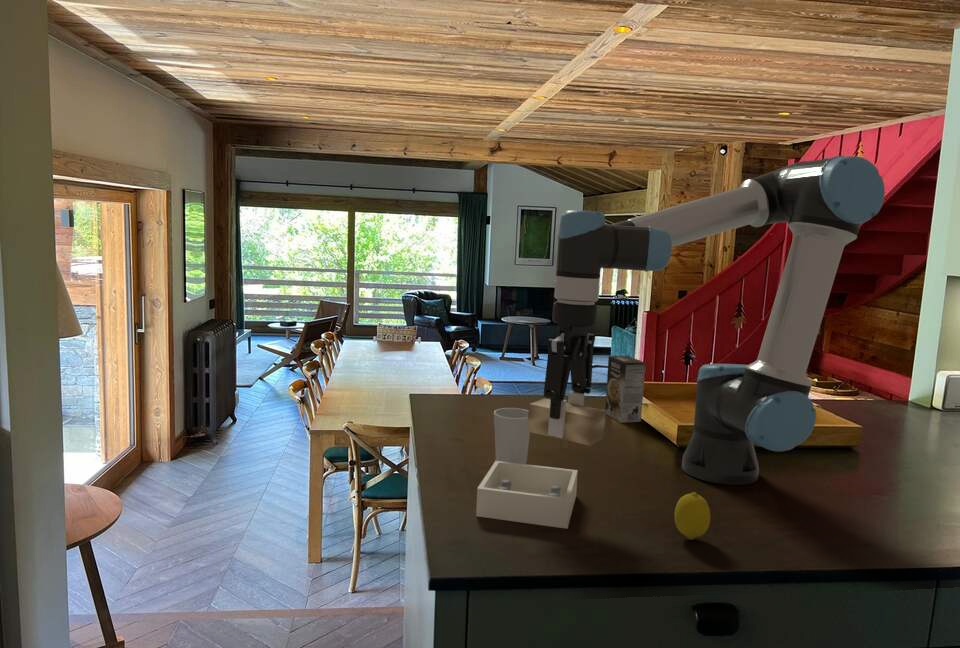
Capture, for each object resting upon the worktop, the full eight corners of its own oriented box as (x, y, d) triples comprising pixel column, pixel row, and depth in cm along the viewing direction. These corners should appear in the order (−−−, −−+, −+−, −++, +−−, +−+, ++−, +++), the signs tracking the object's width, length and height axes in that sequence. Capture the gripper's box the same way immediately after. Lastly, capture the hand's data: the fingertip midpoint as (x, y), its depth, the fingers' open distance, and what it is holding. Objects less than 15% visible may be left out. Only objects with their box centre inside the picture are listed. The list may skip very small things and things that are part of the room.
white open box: (576, 495, 126) (577, 470, 126) (567, 528, 112) (569, 500, 112) (494, 485, 130) (495, 460, 129) (476, 516, 116) (477, 488, 115)
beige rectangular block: (527, 431, 120) (529, 404, 119) (542, 424, 125) (544, 398, 124) (590, 445, 114) (592, 416, 113) (603, 438, 119) (606, 410, 118)
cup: (527, 478, 134) (530, 420, 133) (488, 474, 136) (490, 416, 134) (532, 465, 142) (535, 409, 140) (495, 461, 144) (497, 406, 142)
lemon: (680, 528, 114) (684, 483, 113) (713, 539, 110) (717, 492, 109) (667, 539, 110) (670, 492, 108) (700, 550, 106) (704, 502, 105)
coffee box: (603, 413, 185) (607, 355, 182) (624, 412, 187) (628, 355, 184) (620, 423, 176) (624, 362, 174) (642, 421, 178) (646, 361, 176)
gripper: (580, 297, 126) (570, 417, 129) (528, 302, 110) (518, 438, 113) (618, 301, 122) (607, 425, 125) (569, 307, 106) (558, 449, 109)
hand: (564, 431), depth 119 cm, fingers closed on beige rectangular block, 6 cm apart
